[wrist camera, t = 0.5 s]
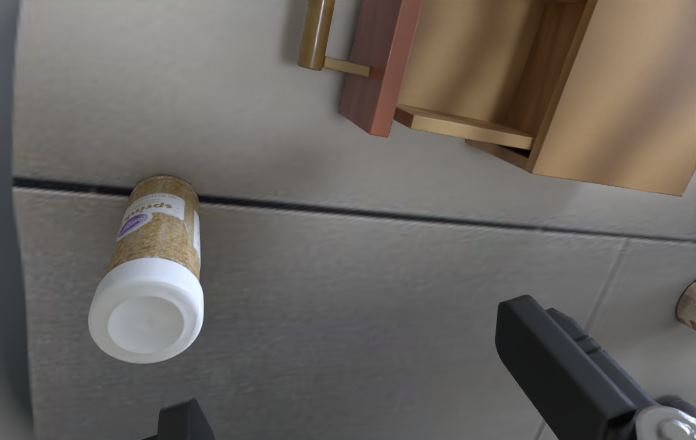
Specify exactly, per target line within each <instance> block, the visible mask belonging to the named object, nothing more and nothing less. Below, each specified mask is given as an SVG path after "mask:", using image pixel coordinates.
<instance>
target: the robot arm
mask: <svg viewBox="0 0 696 440" xmlns="http://www.w3.org/2000/svg"><path fill="white" fill-rule="evenodd" d="M495 344H496V349H497V352H498V354H499V357H500V359H501V360H502V362H503V364H504V365H505V366H506V368H507V369H508V371H509V372H510V373H511V375H512V376H513V377H514V379H515V380H516V382H517V383H518V384H519V386H520V387H521V388H522V390H523V391H524V392H525V394H526V395H527V397H528V398H529V399H530V401H531V402H532V403H533V405H534V406H535V408H536V409H537V410H538V412H539V413H540V414H541V416H542V417H543V418H544V420H545V421H546V423H547V424H548V425H549V427H550V428H551V429H552V431H553V432H554V434H555V435H556V436H557V438H558V439H559V440H696V419H695V418H693V417H692V416H690V415H689V414H687V413H685V412H683V411H681V410H678V409H676V408H672V407H668V406H661V405H660V404H659V403H657V402H656V401H655V400H654V399H653V398H652V397H651V396H650V395H649V394H648V393H647V392H645V391H644V390H643V389H642V388H641V387H640V386H639V385H638V384H637V383H636V382H635V381H634V380H633V379H632V378H631V377H630V376H629V375H628V374H627V373H626V372H625V371H624V370H623V369H622V368H621V367H620V366H619V365H618V364H617V363H616V362H615V361H614V360H613V359H612V358H611V357H610V356H609V355H608V354H607V353H606V352H605V351H604V350H602V349H601V347H600V346H599V345H598V344H597V343H596V342H595V341H594V340H593V339H592V338H590V337H589V336H588V334H587V333H586V332H585V331H584V330H583V329H582V328H581V327H580V326H579V325H578V324H577V323H576V322H575V321H574V320H573V319H572V318H570V317H568V316H566V315H565V314H563V313H561V312H559V311H557V310H556V309H554V308H550V309H547V310H544V309H543V308H542V307H541V306H540V305H539V304H538V303H537V302H536V300H535V299H533V298H532V297H531V296H529V295H522V296H519V297H516V298H513V299H510V300H507V301H503V302H501V303H499V305H498V313H497V324H496V336H495ZM142 440H215V437H214V434H213V431H212V429H211V428H210V426H209V424H208V422H207V420H206V418H205V416H204V414H203V412H202V410H201V408H200V406H199V404H198V402H197V401H196V399H195V398H192V399H189V400H185V401H182V402H179V403H176V404H173V405H170V406H166V407H163V408H162V409H161V410H160V413H159V421H158V433H157V435H155V436H152V437H149V438H146V439H142Z"/></svg>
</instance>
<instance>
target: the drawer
mask: <svg viewBox="0 0 696 440" xmlns="http://www.w3.org/2000/svg"><path fill="white" fill-rule="evenodd" d="M587 1H588V0H362V4H361V9H360V14H359V18H358V23H357V28H356V33H355V37H354V42H353V47H352V52H351V56H350V61H345V60H340V59H336V58H331V57H327V56H325V51H326V46H327V41H328V36H329V30H330V25H331V20H332V15H333V9H334V4H335V0H308V4H307V10H306V16H305V22H304V28H303V33H302V39H301V45H300V51H299V57H298V63H297V64H298V66H300V67H304V68H308V69H312V70H318V71H321V70H322V67H324V68H328V69H332V70H337V71H342V72H346V73H347V75H346V80H345V85H344V90H343V94H342V99H341V104H340V109H339V113H340V114H341V115H343V116H344V117H345V118H347V119H348V120H350V121H351V122H353V123H354V124H356V125H357V126H358V127H360V128H361V129H363V130H364V131H366V132H367V133H368V134H370V135H375V136H381V137H389V133H390V129H391V125H392V121H393V119H394V120H395V121H397V122H399V123H401V124H403V125H405V126H407V127H408V128H410V129H415V130H421V131H426V132H432V133H437V134H443V135H449V136H454V137H460V138H466V139H471V140H477V141H482V142H488V143H494V144H499V145H505V146H510V147H516V148H522V149H527V150H532V148H533V145H534V142H535V140H536V137H537V134H538V132H539V129H540V126H541V124H542V121H543V118H544V116H545V113H546V110H547V108H548V105H549V102H550V100H551V97H552V94H553V92H554V89H555V86H556V84H557V81H558V78H559V76H560V73H561V70H562V68H563V65H564V62H565V59H566V57H567V54H568V51H569V49H570V46H571V43H572V41H573V38H574V35H575V33H576V30H577V27H578V25H579V22H580V19H581V17H582V14H583V11H584V9H585V6H586V3H587Z"/></svg>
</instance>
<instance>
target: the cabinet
mask: <svg viewBox="0 0 696 440" xmlns="http://www.w3.org/2000/svg"><path fill="white" fill-rule="evenodd" d="M466 142H467V143H469V144H471V145H473V146H475V147H477V148H479V149H481V150H483V151H485V152H488V153H490V154H492V155H494V156H496V157H498V158H500V159H502V160H504V161H506V162H508V163H511V164H513V165H515V166H517V167H519V168H521V169H523V170H525V171H527V172H529V173H531V174H537V175H543V176H550V177H556V178H563V179H569V180H576V181H582V182H589V183H595V184H602V185H608V186H615V187H622V188H628V189H635V190H641V191H648V192H654V193H661V194H667V195H674V196H680V197H681V196H682V195H683V193H684V191H685V189H686V187H687V185H688V183H689V182H690V180H691V178H692V176H693V174H694V172H695V170H696V0H588V1H587V3H586V6H585V9H584V11H583V14H582V17H581V19H580V22H579V25H578V27H577V30H576V33H575V35H574V38H573V41H572V43H571V46H570V49H569V51H568V54H567V57H566V59H565V62H564V65H563V68H562V70H561V73H560V76H559V78H558V81H557V84H556V86H555V89H554V92H553V94H552V97H551V100H550V102H549V105H548V108H547V110H546V113H545V116H544V118H543V121H542V124H541V126H540V129H539V132H538V134H537V137H536V140H535V142H534V145H533V148H532V150H527V149H522V148H516V147H510V146H505V145H499V144H494V143H488V142H482V141H477V140H471V139H466Z"/></svg>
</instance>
